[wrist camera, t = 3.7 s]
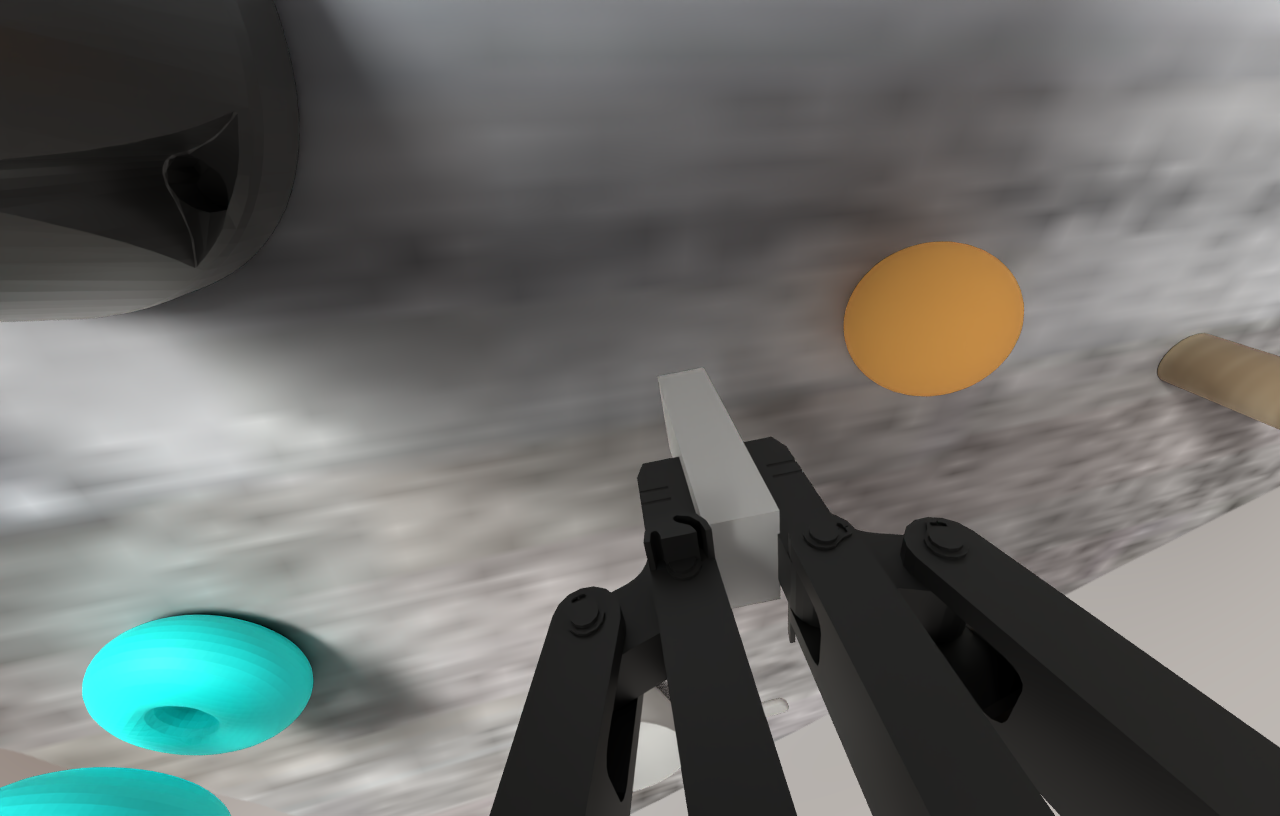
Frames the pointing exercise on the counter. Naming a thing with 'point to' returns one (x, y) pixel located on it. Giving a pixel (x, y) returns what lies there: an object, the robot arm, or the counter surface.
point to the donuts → (174, 713)
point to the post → (1226, 375)
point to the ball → (933, 318)
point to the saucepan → (667, 738)
